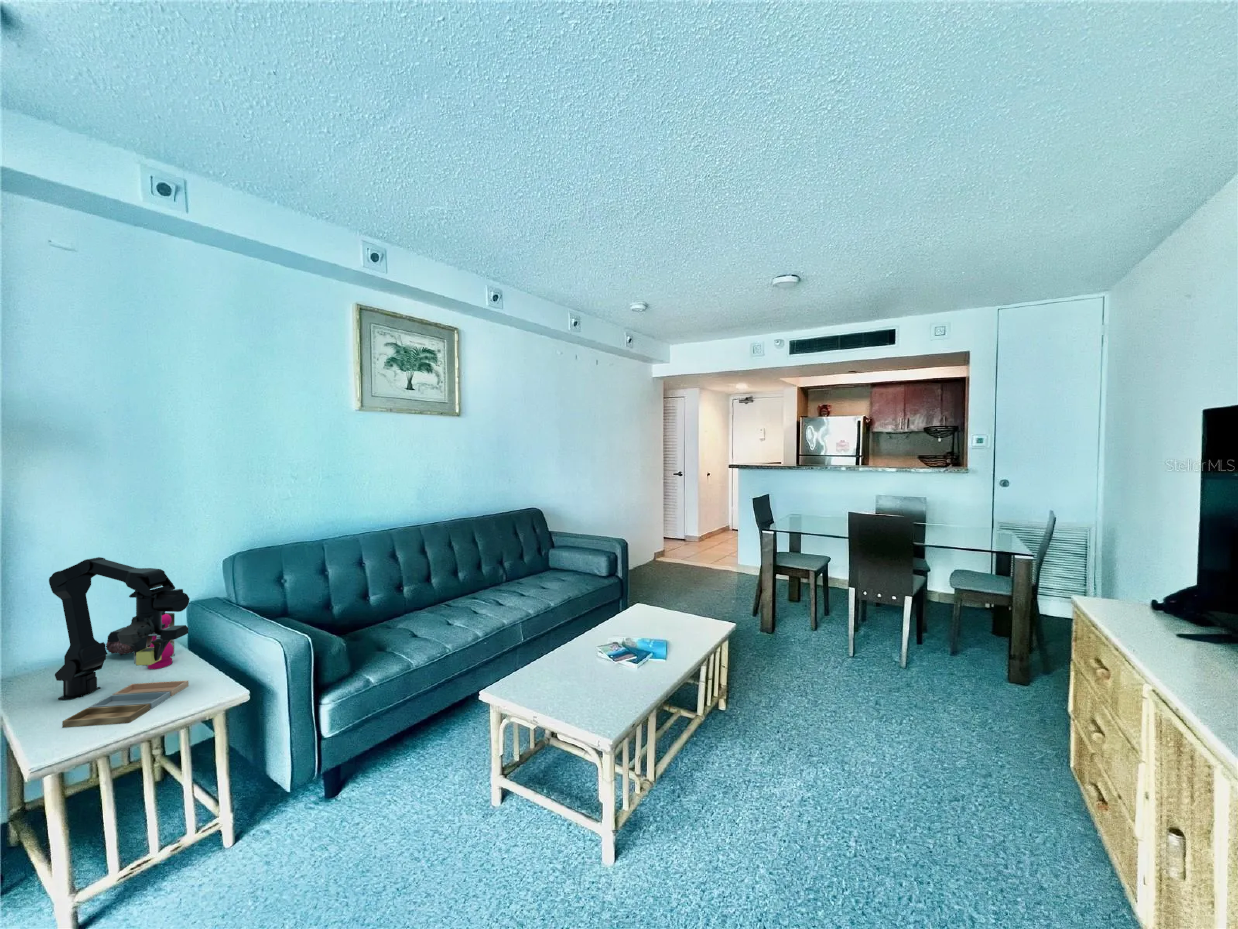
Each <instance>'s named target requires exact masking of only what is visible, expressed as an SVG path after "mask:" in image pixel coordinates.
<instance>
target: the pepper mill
mask: <svg viewBox="0 0 1238 929" xmlns="http://www.w3.org/2000/svg"><path fill="white" fill-rule="evenodd" d="M171 621H172V619H171V616H170V615H168V614H164V615H162V624H165V627H164V628H162V629H167V628H170V627H169V626H168V625H169V624H170V623H171ZM156 638H157V636H152V641H154V640H156ZM150 647H154V645H153V644H152V643H151V645H150ZM173 653H174V654H175V647H174V648H173V646H172V644H171V643H170V641H169V643H168V644H167V646H166V648H165V649H164V651H163V653H162V655H161V660H159V661H157V662H155V663H154V664H152V665H147V669H149V670H157V669H158V670H159V669H162V668H167V667H168V666H170V665H172V664H173V658H172V657H173V656H172V654H173ZM171 656H172V657H171Z"/></svg>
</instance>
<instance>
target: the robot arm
mask: <svg viewBox="0 0 1238 929" xmlns="http://www.w3.org/2000/svg"><path fill="white" fill-rule="evenodd" d="M95 576H101V577H104V578H109V579H112V580H114V581H119V582H123V583H124V584H125V586H126V588H129V589H131V590H133V591H134V592H132V593H131V594H129V595H128V598H135V616H132V618H131V622H130V624H128V625H127V626H124V627H121V628H118V629H116V630H113V631H110V633H109V634H108V635H107V640H108V642H118V641H120V643H121V644H126V645H128V646H130V647H131V648H132V650H133V651H134V652H133V654H134V653H135V655H136V652H138V651H141V650H143V649H145V648H146V643H147V636H157V638H156V640H154V641H152V642H151V643H152V644H153V645H154V659H155V661H157V660H159V658H160V657H161V655H162V653H163V651H164V649H165V648H166V646H167V644H168V643H169V641H170V640H174V641H175V640H178V639H179V638H182V637H183V636H186V635H188V634H189V626H187V625H185V624H184V625H183V624H181V625H179V624H178V625H174V626H172V627H170V628H167V629H162V628H164V627H165V624H162V615H164V614H165V613H175V612H176V613H179V612H183V611H185V609H187V607H188V606H189V604H190V597H189V595H188V594H187V593H185V592H184V589H183V588H177V589H176V587H175V585H174V583H173V582H172V581H171V579H170V578H169V577H168V575H167V574H166V572H165V571H164V569H161V568H152V567H147V568H146V567H144V568H139V567H134V566H131V565H127V564H123V563H120V562H116V561H112V560H109V559H106V558H105V557H100V556H98V557H91V558H87V559H83V560H82V561H80V562H78V563H76V564H74V565H72V566H69V567H67V568H64V569H62V570H58V571H55V572H53V573H52V574H51V576H49V577H48V584H49V587H50V590H51V592H52V593H53V595H54V596H56V597H57V598H59V599H60V600H61V602H62V607H63V613H64V618H65V619H64V620H65V624H66V629H67V634H68V640H69V647H68V649H67V651H66V652H65V654H64V664H63V665H62V666H61V668H58V670H57V671H56V672H55V674H54V677H55V679H56V681H60V682H62V681H63V684H62V686H63V692H62V693H63V694H62V696H59V697H57V700H73V699H78V698H84V697H85V696H87V695H90V694H91V693H93V692H95V691H98V690H100V689H101V687H100V686H98V677H97V676H96V675H97V673H96V671H99V670H101V669H103V666H104V662H105V661H106V659H107V655H108V653H109V652H108V651H107V649H106V648H107V647H106V643H105V642H104V641H103V642H99V641H97V639H95V636H94V632H93V626H92V622H91V616H90V610H89V605H88V600H87V599H88V598H87V593H88V591H89V589H90V588H91V586H92V579H93V577H95Z"/></svg>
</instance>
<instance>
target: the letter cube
mask: <svg viewBox="0 0 1238 929" xmlns="http://www.w3.org/2000/svg"><path fill="white" fill-rule="evenodd" d="M159 660H161V657H160V658H159ZM159 660H157V661H159ZM157 661H155V659H154V647H147V648H145V649H143V650H141V651H138V652H136V664H135V666H148V665H152V664H154V663H155V662H157Z"/></svg>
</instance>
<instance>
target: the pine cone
mask: <svg viewBox="0 0 1238 929" xmlns="http://www.w3.org/2000/svg"><path fill="white" fill-rule="evenodd" d="M106 641H107V642H106V643H105V648H106V651H107V653H111V654H119V655H120V656H122V655H124V654H125V655H128V654H134V651H133V650H132V648H131V647H130V646H128V645H126V644H121V643H120V641H118V642H108V639H107V640H106Z"/></svg>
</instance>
